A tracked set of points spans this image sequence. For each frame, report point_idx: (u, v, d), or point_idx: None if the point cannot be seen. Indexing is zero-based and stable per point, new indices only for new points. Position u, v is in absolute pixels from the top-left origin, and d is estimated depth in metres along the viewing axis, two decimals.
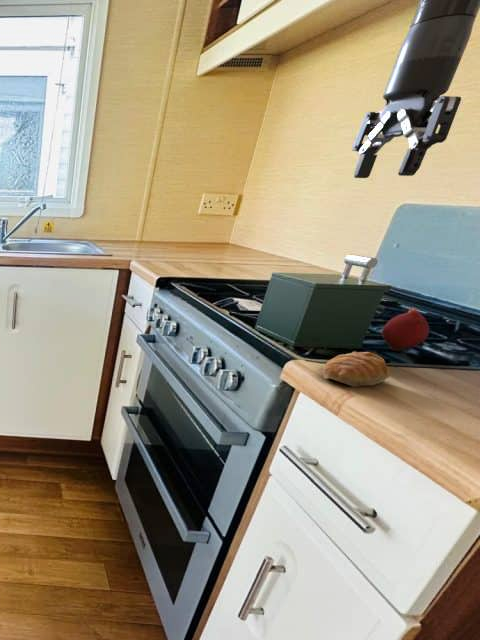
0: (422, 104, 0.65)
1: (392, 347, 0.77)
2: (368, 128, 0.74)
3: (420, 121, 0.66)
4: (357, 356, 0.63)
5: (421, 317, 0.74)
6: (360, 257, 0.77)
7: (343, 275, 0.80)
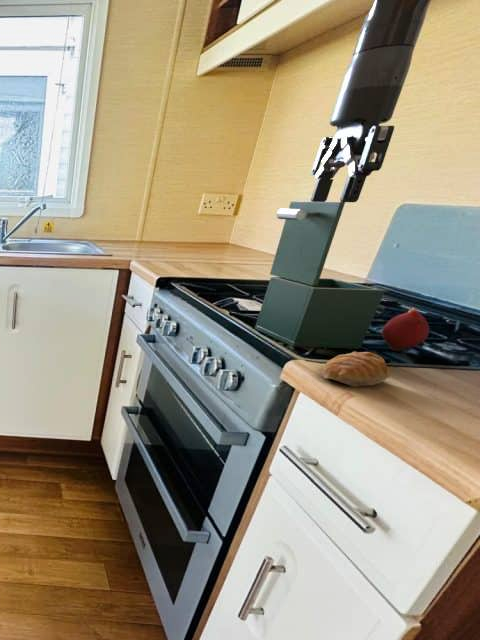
0: (360, 132, 0.65)
1: (392, 347, 0.77)
2: (324, 153, 0.74)
3: (361, 148, 0.66)
4: (357, 356, 0.63)
5: (421, 317, 0.74)
6: (287, 217, 0.74)
7: None
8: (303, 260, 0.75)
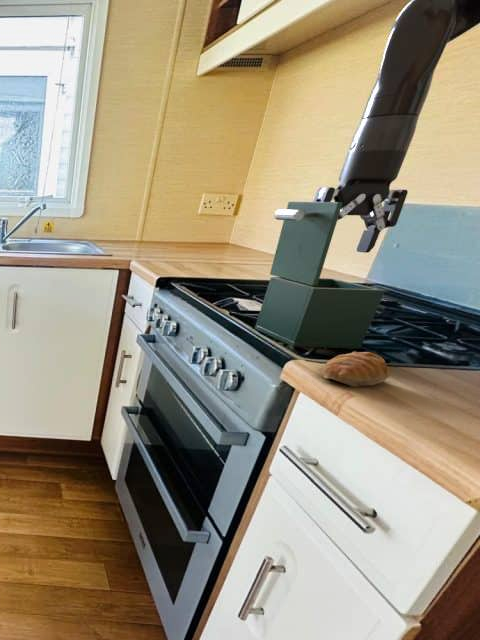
0: None
1: None
2: (386, 205, 0.74)
3: None
4: (357, 356, 0.63)
5: None
6: (285, 218, 0.74)
7: None
8: (302, 260, 0.75)
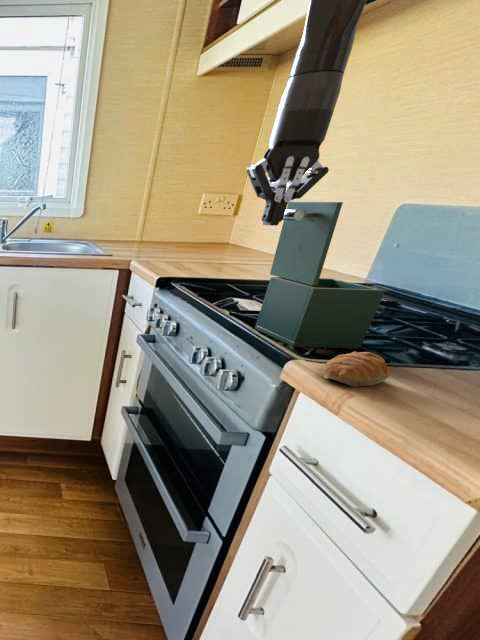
0: None
1: None
2: (304, 178, 0.72)
3: (270, 169, 0.71)
4: (357, 356, 0.63)
5: None
6: (285, 218, 0.74)
7: None
8: (302, 260, 0.75)
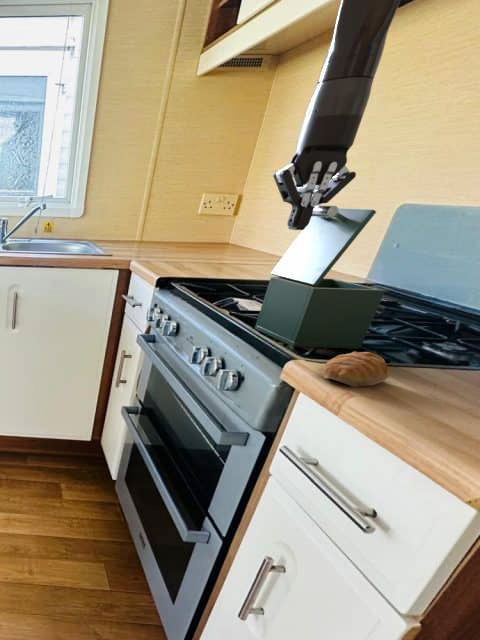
0: None
1: None
2: (331, 183, 0.73)
3: (297, 174, 0.71)
4: (357, 356, 0.63)
5: None
6: (317, 212, 0.74)
7: (324, 219, 0.76)
8: (312, 261, 0.76)
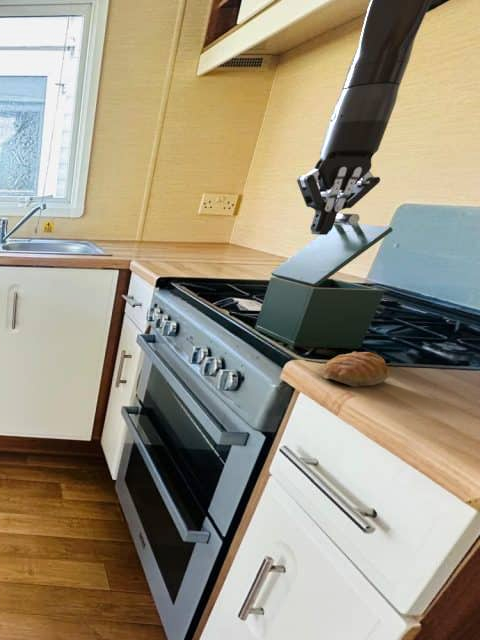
0: None
1: None
2: (354, 188, 0.73)
3: (321, 179, 0.72)
4: (357, 356, 0.63)
5: None
6: (339, 218, 0.74)
7: (338, 231, 0.77)
8: (317, 265, 0.76)
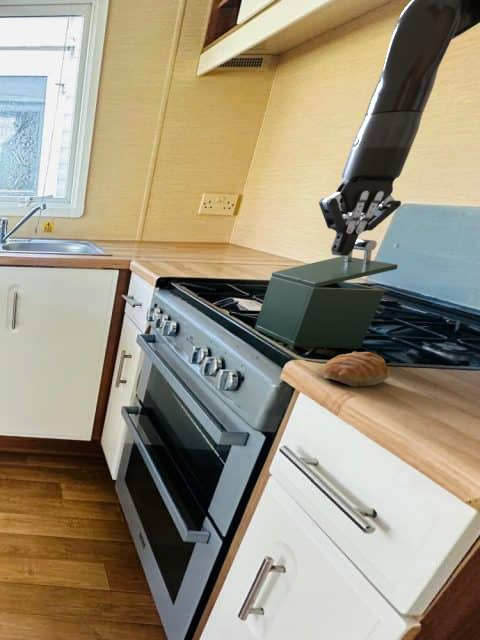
0: None
1: None
2: (375, 210, 0.74)
3: (343, 202, 0.73)
4: (357, 356, 0.63)
5: None
6: (358, 241, 0.76)
7: (346, 259, 0.79)
8: (320, 274, 0.76)
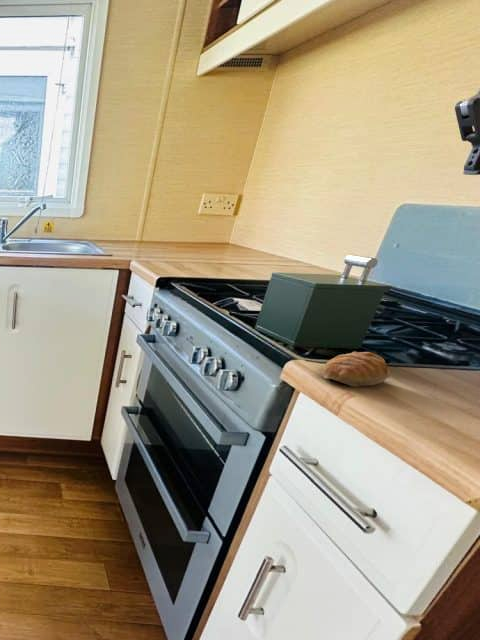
0: None
1: None
2: None
3: None
4: (357, 356, 0.63)
5: None
6: (360, 257, 0.77)
7: (343, 275, 0.80)
8: (320, 280, 0.77)
